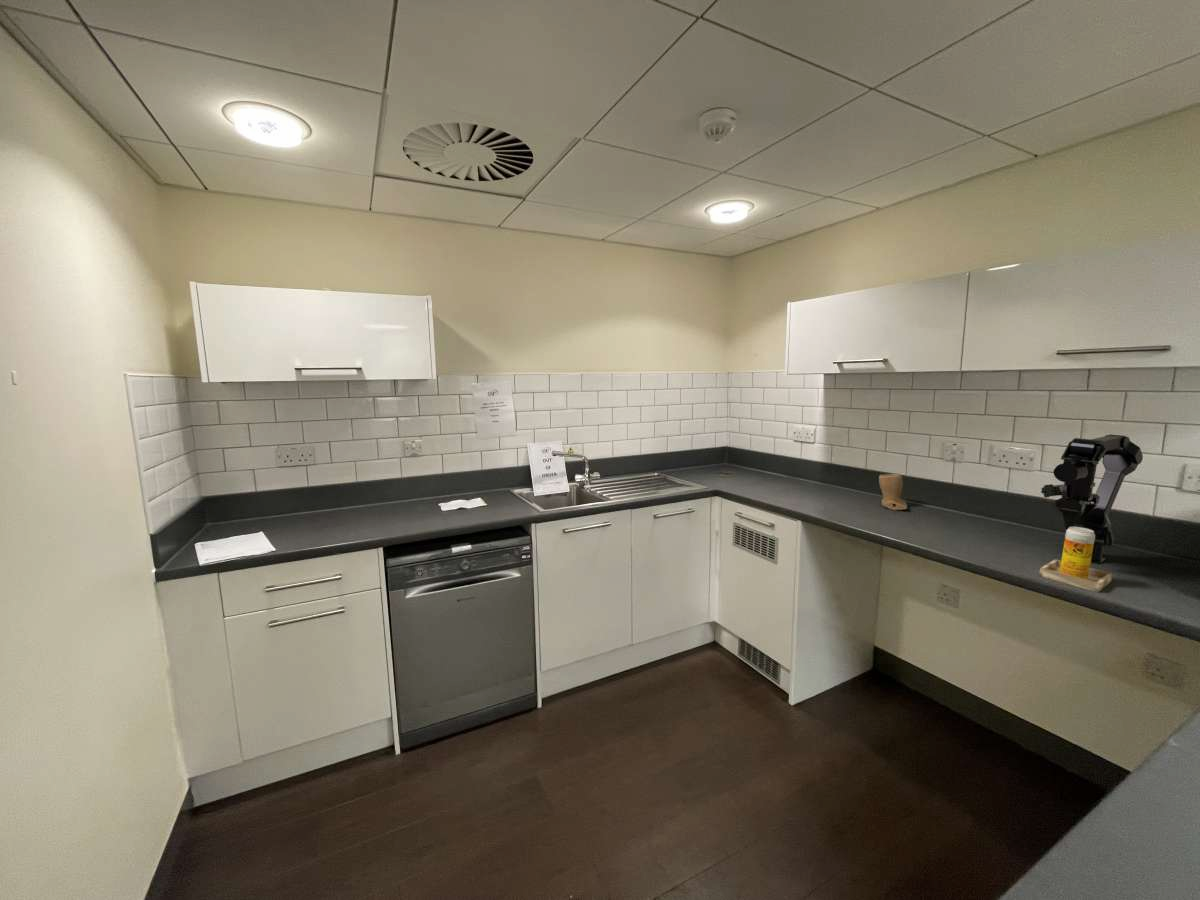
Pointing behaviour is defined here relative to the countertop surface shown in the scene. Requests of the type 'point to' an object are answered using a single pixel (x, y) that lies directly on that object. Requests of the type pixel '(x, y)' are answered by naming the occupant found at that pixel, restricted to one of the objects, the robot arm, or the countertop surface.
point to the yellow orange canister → (1077, 552)
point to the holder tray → (1094, 581)
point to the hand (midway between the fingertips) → (1072, 527)
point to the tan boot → (892, 491)
